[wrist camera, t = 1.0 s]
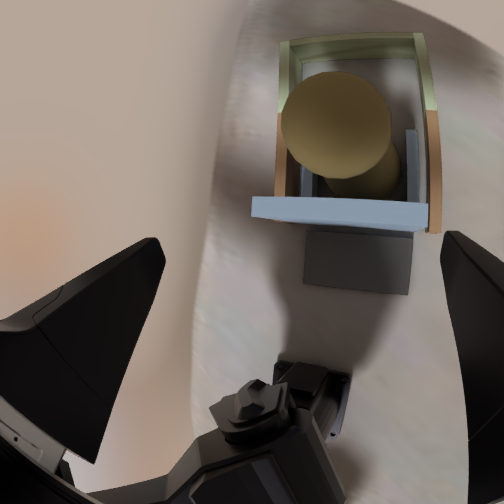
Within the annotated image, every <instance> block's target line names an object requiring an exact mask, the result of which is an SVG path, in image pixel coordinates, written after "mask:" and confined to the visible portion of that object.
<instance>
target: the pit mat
mask: <svg viewBox="0 0 504 504" xmlns="http://www.w3.org/2000/svg"><path fill="white" fill-rule="evenodd" d="M412 251H413V239H412V238H400V237H388V236H376V235H362V234H349V233H335V232H320V231H307V236H306V251H305V266H304V279H303V283H304V284H312V285H320V286H328V287H337V288H345V289H354V290H363V291H372V292H381V293H390V294H400V295H408V290H409V282H410V272H411V262H412Z"/></svg>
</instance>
